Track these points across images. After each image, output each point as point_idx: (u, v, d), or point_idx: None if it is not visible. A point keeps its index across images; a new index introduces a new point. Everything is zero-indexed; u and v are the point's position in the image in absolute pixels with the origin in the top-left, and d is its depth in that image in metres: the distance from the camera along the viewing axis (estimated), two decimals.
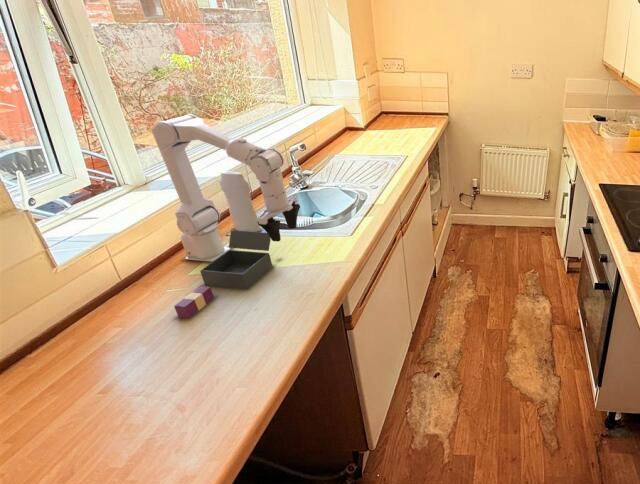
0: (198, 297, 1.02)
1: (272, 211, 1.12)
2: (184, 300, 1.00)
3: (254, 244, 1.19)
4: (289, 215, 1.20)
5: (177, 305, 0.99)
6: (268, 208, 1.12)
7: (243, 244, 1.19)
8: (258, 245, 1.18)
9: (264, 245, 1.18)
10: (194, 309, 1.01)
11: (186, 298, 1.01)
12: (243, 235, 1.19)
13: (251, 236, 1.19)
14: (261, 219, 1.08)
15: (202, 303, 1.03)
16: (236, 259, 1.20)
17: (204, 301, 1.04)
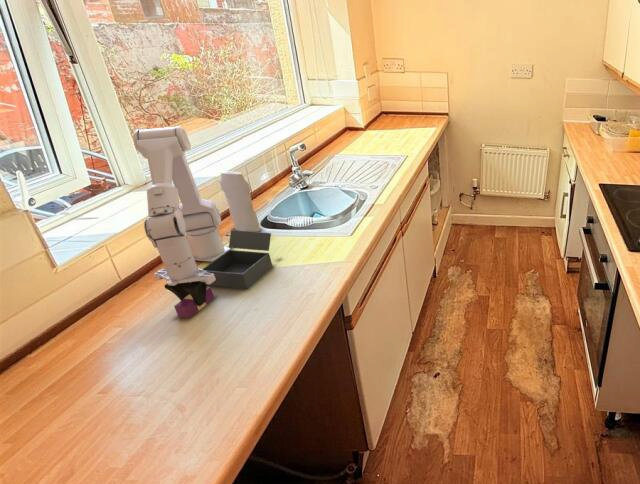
0: None
1: None
2: (184, 300, 1.00)
3: (254, 244, 1.19)
4: None
5: (177, 305, 0.99)
6: None
7: (243, 244, 1.19)
8: (258, 245, 1.18)
9: (264, 245, 1.18)
10: (194, 309, 1.01)
11: (186, 298, 1.01)
12: (243, 235, 1.19)
13: (251, 236, 1.19)
14: None
15: None
16: (236, 259, 1.20)
17: None
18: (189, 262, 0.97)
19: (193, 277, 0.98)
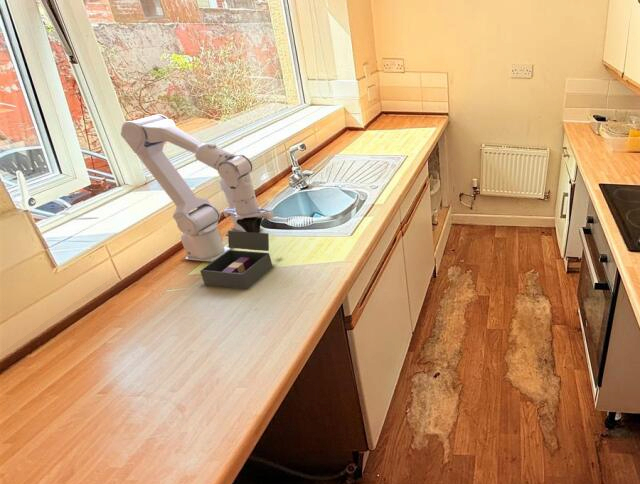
0: (240, 266, 1.14)
1: None
2: (228, 268, 1.12)
3: (253, 244, 1.18)
4: None
5: None
6: None
7: (242, 244, 1.19)
8: (257, 246, 1.18)
9: (263, 245, 1.18)
10: None
11: (230, 266, 1.13)
12: (241, 235, 1.18)
13: (249, 236, 1.18)
14: None
15: (243, 271, 1.15)
16: (236, 259, 1.20)
17: (245, 270, 1.16)
18: (253, 200, 1.16)
19: (256, 213, 1.17)
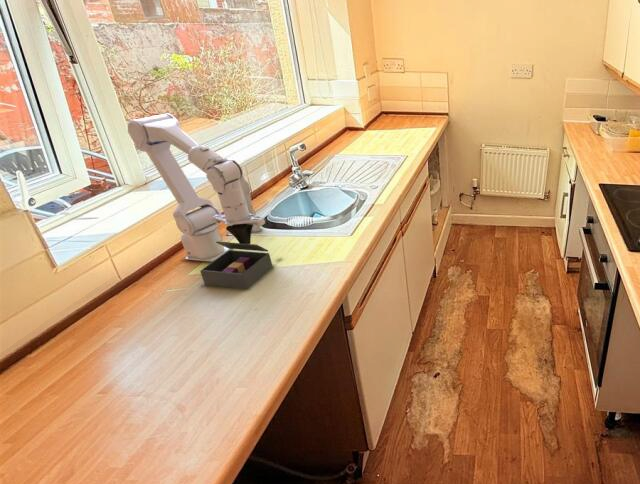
0: (240, 266, 1.14)
1: None
2: (228, 268, 1.12)
3: (250, 248, 1.17)
4: None
5: None
6: None
7: (239, 248, 1.18)
8: (255, 249, 1.17)
9: (260, 249, 1.17)
10: None
11: (230, 266, 1.13)
12: (232, 245, 1.15)
13: (241, 246, 1.15)
14: None
15: (243, 271, 1.15)
16: (236, 259, 1.20)
17: (245, 270, 1.16)
18: (243, 206, 1.12)
19: (246, 220, 1.13)
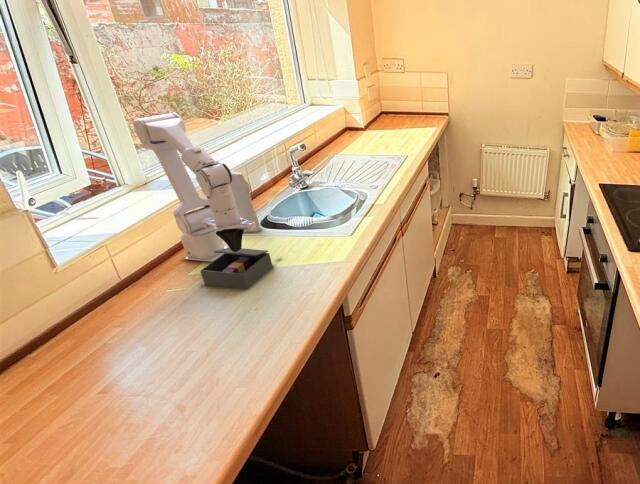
0: (240, 266, 1.14)
1: None
2: (228, 268, 1.12)
3: None
4: None
5: None
6: None
7: None
8: None
9: None
10: None
11: (230, 266, 1.13)
12: None
13: None
14: None
15: (243, 271, 1.15)
16: (236, 259, 1.20)
17: (245, 270, 1.16)
18: (234, 210, 1.09)
19: (237, 224, 1.10)
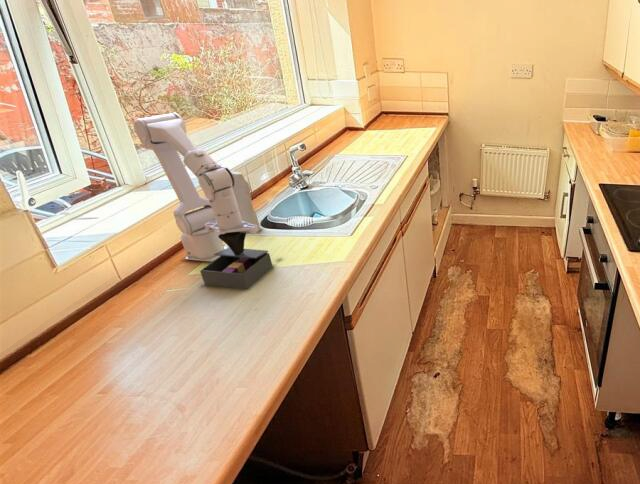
0: (240, 266, 1.14)
1: None
2: (228, 268, 1.12)
3: None
4: None
5: None
6: None
7: None
8: None
9: None
10: None
11: (230, 266, 1.13)
12: None
13: None
14: None
15: (243, 271, 1.15)
16: (236, 259, 1.20)
17: (245, 270, 1.16)
18: (236, 214, 1.10)
19: (239, 228, 1.11)
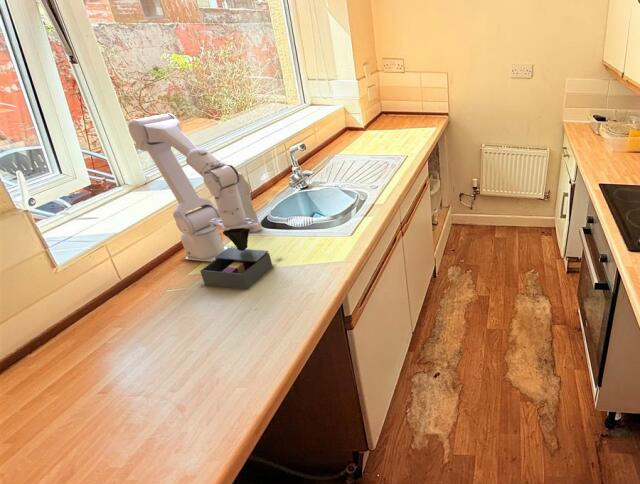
0: (240, 266, 1.14)
1: None
2: (228, 268, 1.12)
3: None
4: None
5: None
6: None
7: None
8: None
9: None
10: None
11: (230, 266, 1.13)
12: None
13: None
14: None
15: (243, 271, 1.15)
16: None
17: (245, 270, 1.16)
18: (240, 210, 1.12)
19: (243, 224, 1.13)
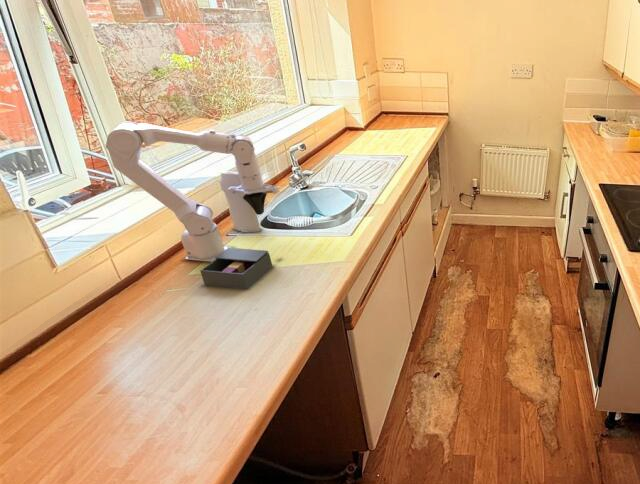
0: (240, 266, 1.14)
1: None
2: (228, 268, 1.12)
3: None
4: None
5: None
6: None
7: None
8: None
9: None
10: None
11: (230, 266, 1.13)
12: None
13: None
14: None
15: (243, 271, 1.15)
16: None
17: (245, 270, 1.16)
18: (259, 176, 1.25)
19: None
